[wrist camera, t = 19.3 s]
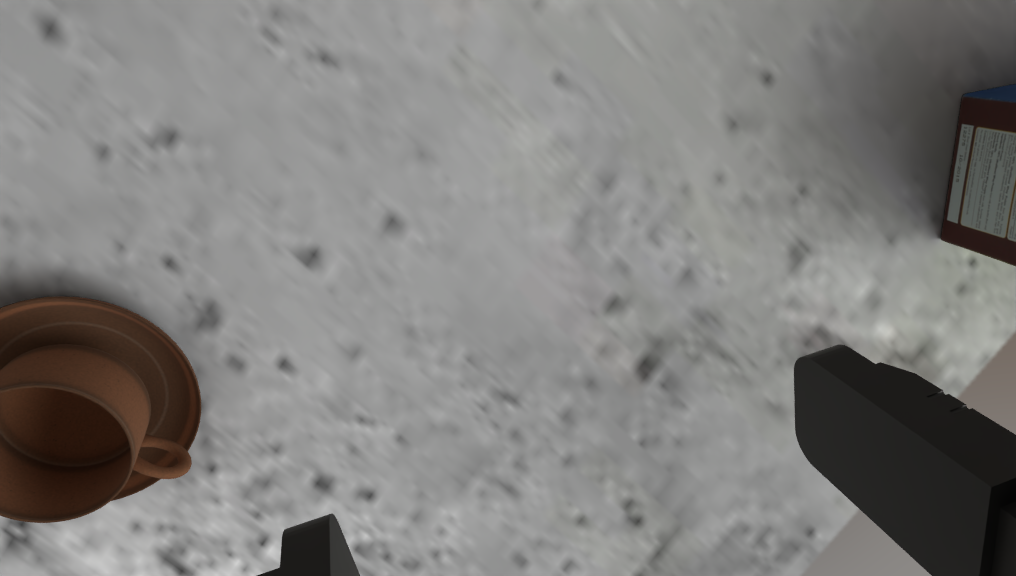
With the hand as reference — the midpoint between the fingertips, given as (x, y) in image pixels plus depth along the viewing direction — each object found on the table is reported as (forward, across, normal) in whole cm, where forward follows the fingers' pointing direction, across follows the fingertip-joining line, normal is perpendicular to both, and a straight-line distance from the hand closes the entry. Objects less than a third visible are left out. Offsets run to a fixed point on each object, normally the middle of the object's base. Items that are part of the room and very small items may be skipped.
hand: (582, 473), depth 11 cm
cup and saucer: (+28, +20, +8) cm, 35 cm away
